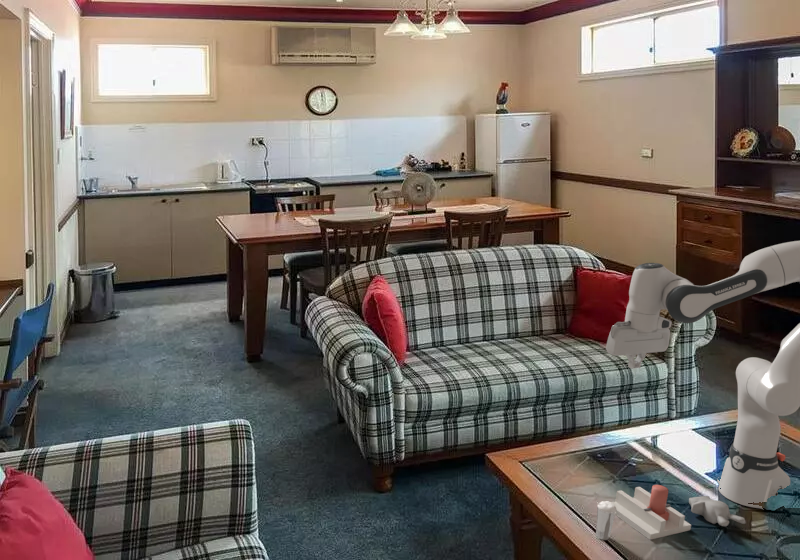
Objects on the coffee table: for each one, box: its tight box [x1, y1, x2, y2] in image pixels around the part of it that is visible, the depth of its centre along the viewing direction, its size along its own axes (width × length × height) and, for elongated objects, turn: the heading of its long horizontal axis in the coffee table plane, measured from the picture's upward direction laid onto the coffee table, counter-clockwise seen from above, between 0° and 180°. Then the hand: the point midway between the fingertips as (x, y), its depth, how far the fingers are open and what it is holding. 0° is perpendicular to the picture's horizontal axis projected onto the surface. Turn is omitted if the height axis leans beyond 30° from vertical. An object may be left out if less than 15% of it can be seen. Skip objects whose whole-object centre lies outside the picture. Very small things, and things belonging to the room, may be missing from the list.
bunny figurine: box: [688, 495, 747, 527], centre depth 198 cm, size 10×5×15 cm
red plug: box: [647, 484, 669, 521], centre depth 193 cm, size 4×4×8 cm
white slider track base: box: [610, 486, 692, 540], centre depth 196 cm, size 14×16×5 cm
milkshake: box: [595, 496, 616, 541], centre depth 185 cm, size 4×5×10 cm
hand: (634, 367), depth 210 cm, fingers closed
